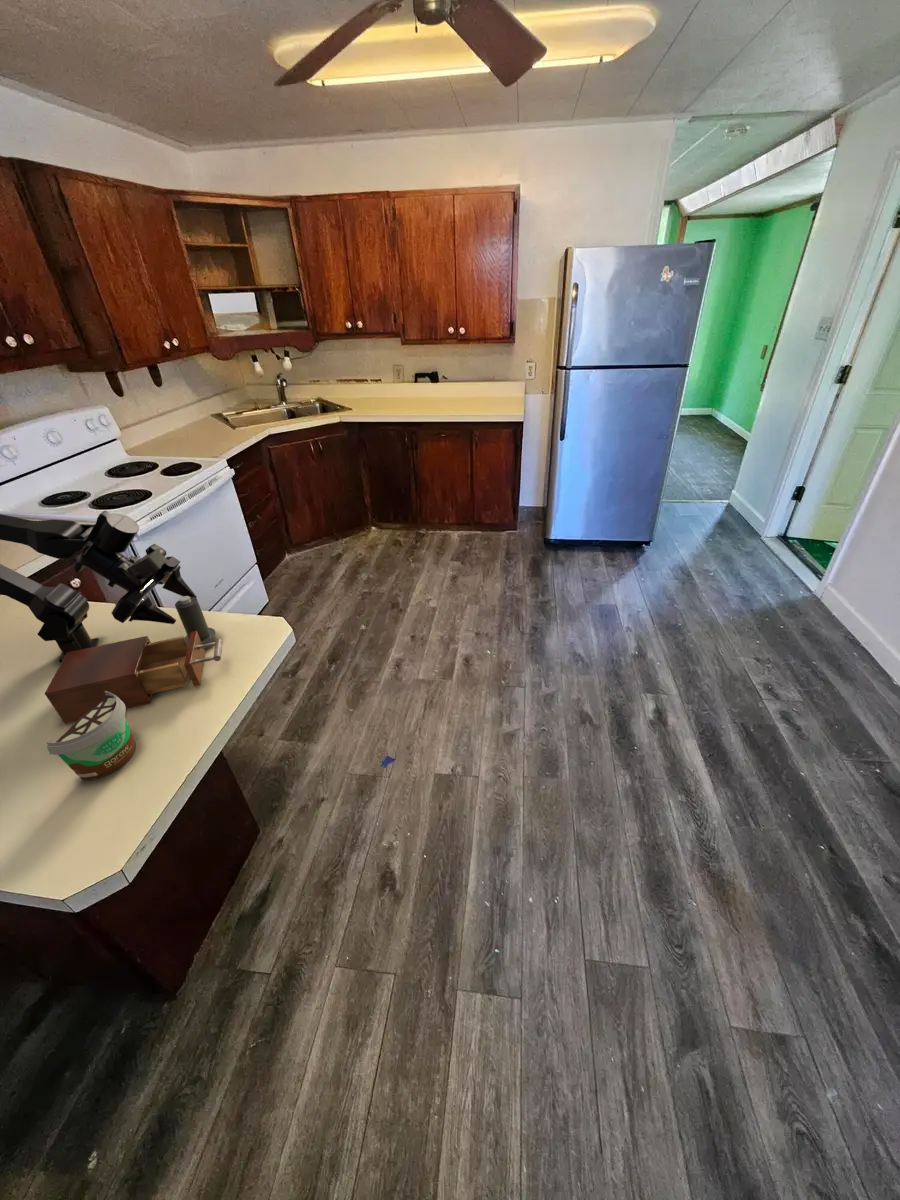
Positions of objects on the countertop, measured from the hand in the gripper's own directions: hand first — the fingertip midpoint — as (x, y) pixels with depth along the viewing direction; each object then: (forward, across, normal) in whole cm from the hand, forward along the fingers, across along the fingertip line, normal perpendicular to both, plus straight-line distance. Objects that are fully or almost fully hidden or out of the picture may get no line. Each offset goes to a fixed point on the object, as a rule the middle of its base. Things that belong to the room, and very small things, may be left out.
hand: (185, 610), depth 105 cm
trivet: (+7, 0, +6) cm, 9 cm away
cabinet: (-1, -16, +13) cm, 20 cm away
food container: (+7, -32, +6) cm, 34 cm away
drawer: (+7, -11, +5) cm, 14 cm away
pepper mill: (+6, 0, +4) cm, 7 cm away
